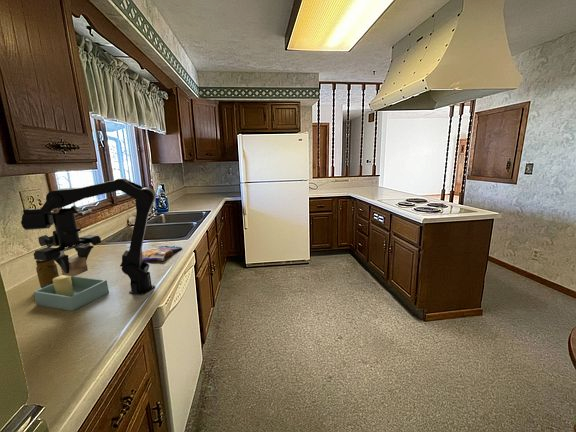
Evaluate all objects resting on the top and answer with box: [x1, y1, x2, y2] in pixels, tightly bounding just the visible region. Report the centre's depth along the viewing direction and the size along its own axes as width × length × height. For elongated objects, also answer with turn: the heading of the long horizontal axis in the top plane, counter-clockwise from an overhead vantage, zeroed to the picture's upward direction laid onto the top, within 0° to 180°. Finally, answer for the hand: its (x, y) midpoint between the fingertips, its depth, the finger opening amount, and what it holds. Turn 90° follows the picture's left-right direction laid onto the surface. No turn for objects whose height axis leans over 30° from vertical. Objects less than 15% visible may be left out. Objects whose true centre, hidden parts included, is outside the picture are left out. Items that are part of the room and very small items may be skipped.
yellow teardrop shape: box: [53, 275, 74, 296], centre depth 99 cm, size 5×5×7 cm
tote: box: [33, 275, 110, 312], centre depth 98 cm, size 13×17×5 cm
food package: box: [142, 245, 183, 263], centre depth 141 cm, size 22×25×4 cm
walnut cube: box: [60, 255, 89, 276], centre depth 94 cm, size 5×5×5 cm
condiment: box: [35, 259, 60, 291], centre depth 107 cm, size 7×8×12 cm
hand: (74, 270), depth 94 cm, fingers closed on walnut cube, 5 cm apart
